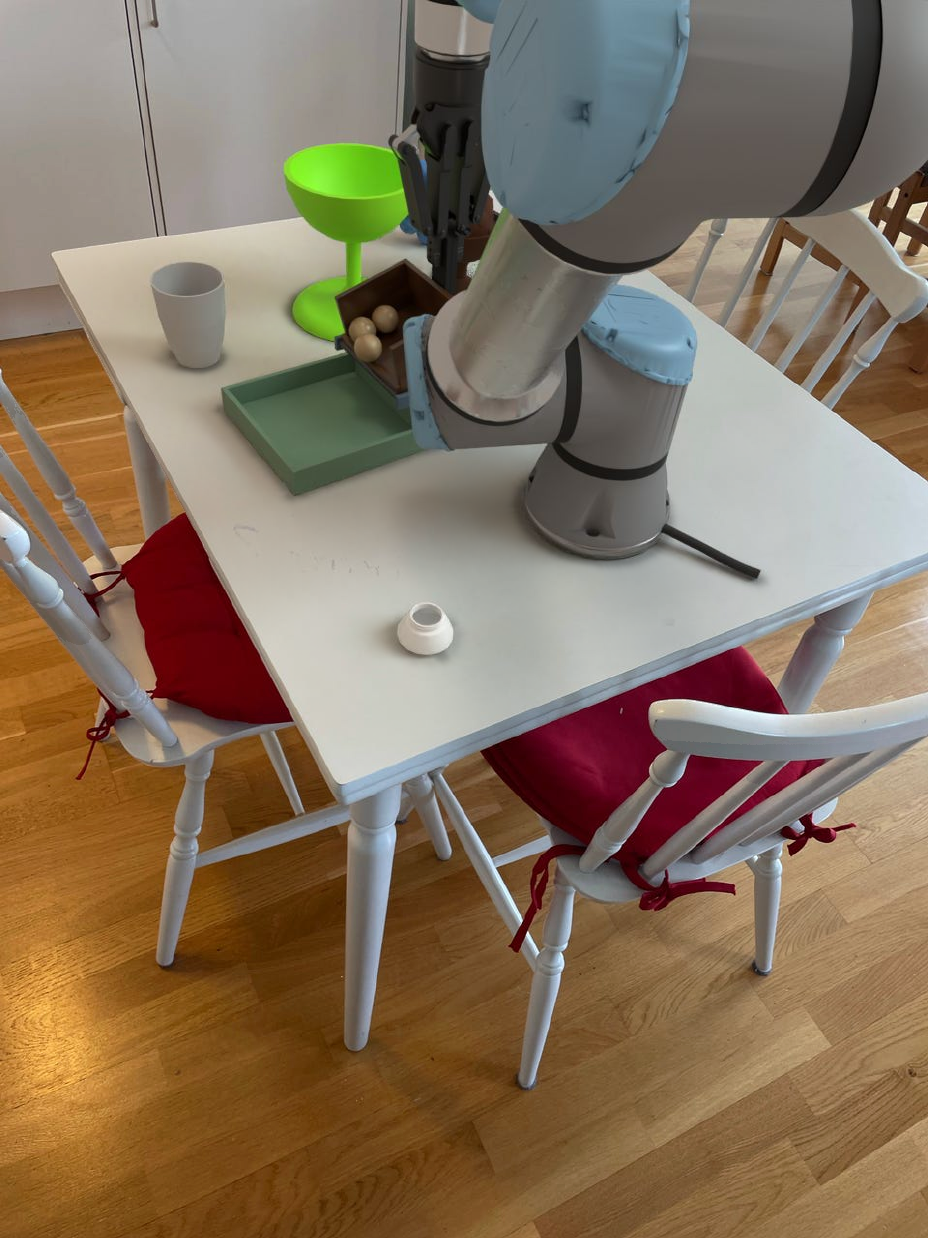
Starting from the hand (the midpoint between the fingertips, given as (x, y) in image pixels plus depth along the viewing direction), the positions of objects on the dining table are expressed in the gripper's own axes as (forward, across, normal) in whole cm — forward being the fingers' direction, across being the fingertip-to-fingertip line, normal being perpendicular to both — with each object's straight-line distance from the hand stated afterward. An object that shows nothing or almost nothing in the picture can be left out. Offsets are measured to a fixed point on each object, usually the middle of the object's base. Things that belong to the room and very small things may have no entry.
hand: (443, 290), depth 104 cm
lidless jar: (+13, +22, +32) cm, 41 cm away
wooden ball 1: (+5, +8, -3) cm, 10 cm away
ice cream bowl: (+14, -16, -20) cm, 29 cm away
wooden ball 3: (+4, +5, -4) cm, 7 cm away
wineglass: (+13, 0, -21) cm, 25 cm away
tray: (+13, +15, 0) cm, 20 cm away
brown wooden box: (+6, +4, 0) cm, 7 cm away
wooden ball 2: (+4, +10, 0) cm, 10 cm away
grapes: (+14, -19, -32) cm, 40 cm away
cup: (+13, +22, -20) cm, 32 cm away
